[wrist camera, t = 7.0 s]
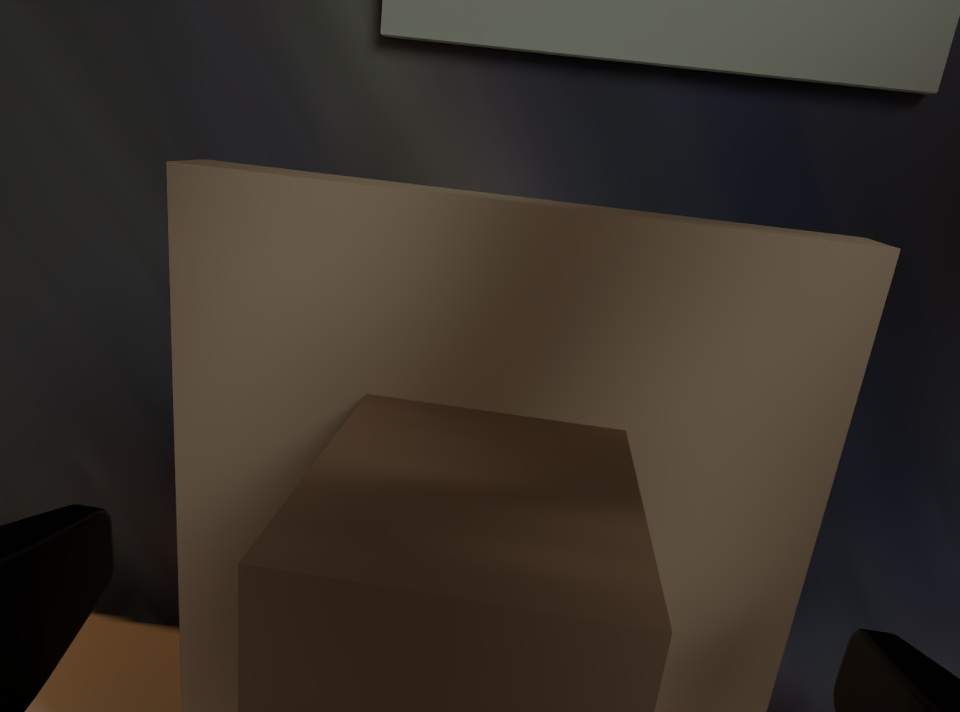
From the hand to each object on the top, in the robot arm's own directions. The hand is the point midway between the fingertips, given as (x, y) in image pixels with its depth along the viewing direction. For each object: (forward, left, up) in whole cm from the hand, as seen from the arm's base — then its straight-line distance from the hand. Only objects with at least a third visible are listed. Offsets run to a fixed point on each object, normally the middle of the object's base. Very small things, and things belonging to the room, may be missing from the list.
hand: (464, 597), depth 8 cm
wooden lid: (0, 0, -3) cm, 3 cm away
